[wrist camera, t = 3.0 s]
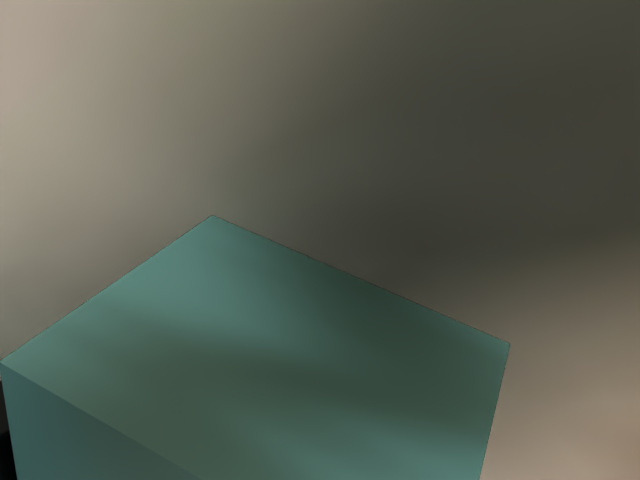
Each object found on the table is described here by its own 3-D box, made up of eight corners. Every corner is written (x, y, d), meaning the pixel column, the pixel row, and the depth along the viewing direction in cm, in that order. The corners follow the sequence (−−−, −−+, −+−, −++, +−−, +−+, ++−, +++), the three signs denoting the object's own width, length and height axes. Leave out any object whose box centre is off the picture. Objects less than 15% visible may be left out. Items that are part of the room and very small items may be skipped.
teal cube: (510, 344, 8) (447, 621, 5) (410, 535, 10) (325, 796, 7) (212, 215, 9) (-1, 361, 6) (190, 415, 12) (35, 591, 9)
